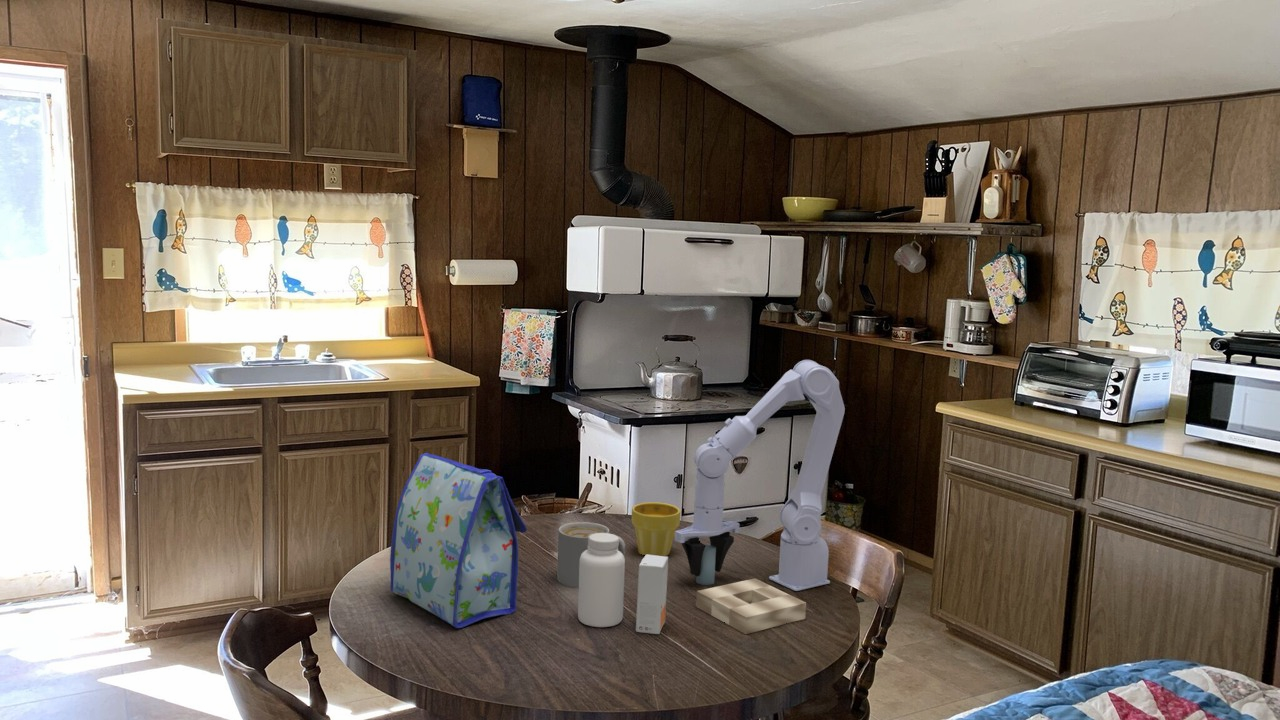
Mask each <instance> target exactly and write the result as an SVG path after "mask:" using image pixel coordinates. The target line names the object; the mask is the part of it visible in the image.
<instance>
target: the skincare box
mask: <svg viewBox="0 0 1280 720" xmlns="http://www.w3.org/2000/svg"><path fill="white" fill-rule="evenodd" d="M668 569H669V556H656V555H648V554H646V555H645V556H644V557H643V558H642V559H641V562H640V563H639V565H638V575H637V576H638V579H637V599H636V600H637V601H636V602H637V603H636V616H635V617H636V618H635V619H636V621H635V632H637V633H643V634H652V635H660V633H661V631H662V628H663V626H664V625H665V622H666V613H667V612H666V611H667V609H666V608H667V590H668V589H667V587H668V571H669V570H668Z"/></svg>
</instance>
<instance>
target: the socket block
mask: <svg viewBox="0 0 1280 720" xmlns="http://www.w3.org/2000/svg"><path fill="white" fill-rule="evenodd" d="M695 598H696V601H695V602H696V603H695V607H696V608H698V609H699V610H701V611H702V612H705V613H706V614H708V615H709V616H712V617H714V618H716V619H718V621H721V622H722V623H724V622H725V623H724V624H726V625H728V626H730V627H732V628H733V629H735V630H737V631H738V632H741V633H742V634H745V635H748V634H752V633H756V632H759V631H763V630H767V629H771V628H774V627H780V626H782V625H787V624H790V623H794V622H797V621H798V622H799V621H802V620H805V619H806V616H807V615H806V611H807V602H806V601H803V600H801V599H799V598H797V597H795V596H793V595H791V594H788V593H786V592H785V591H782V590H780V589H778V588H776V587H774V586H772V585H770V584H768V583H765V582H763V581H762V580H759V579H757V578H755V577H754V578H749V579H745V580H741V581H737V582H732V583H728V584H723V585H718V586H714V587H709V588H704V589H701V590H696V597H695ZM786 623H787V624H786Z"/></svg>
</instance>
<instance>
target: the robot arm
mask: <svg viewBox="0 0 1280 720" xmlns="http://www.w3.org/2000/svg"><path fill="white" fill-rule="evenodd" d="M841 393H842V392H841V390H840V381H839V379H837V376H835V374H834V373H833V372H832V371H831V369H829V368H828V367H827V366H823V365H821V364H819V363H817V361H814V360H811V359H803V360H801V361H798V362H797V363H796V364H795V365H794V367H793V369H789V370H788V371H786V372H785V373H784V374H783V375H782V376H781V378H780V379H779V380H778V381H777V382H776V383H775V384H774V385H773V386H772V387H771V388H770V389H769V391H767V392H766V393H765V394H764V395H763V396H762V398H760V400H759V401H757V403H756V404H754V406H753V407H752V408H751V409H750V410H749V411H748V412H747V414H746V415H735V416H734V417H733V418H732V419H731V418H730V417H729V418H727V419H726V420H725V421H724V423H725V426H723V428H721V429H720V430H719V431H718V432H717V433H716V434H715V435H714V436H713V437H712V436H710V437H709V438H707V443H703V444H701V445H700V446H698V448H697V449H696V451H695V454H694V455H693V461H694V463H695V465H696V467H697V468H696V473H695V484H694V501H693V502H694V503H693V508H694V509H693V521H692V523H691V525H690V526H687V527H685V528H684V527H683V528H682V529H678V530H676V531H675V534H674V541H675V542H677V543H678V544H679V543H680V544H681V545H682V547H683V549H684V551H685V554H686V558H687V562H688V565H689V572H690V574H691V575H693V576H695V577H696V576H700V572H701V560H702V555H703V552H704V549H705V546H706V545H707V544H704V543H702V542H701V540H700V539H704V538H705V539H706V538H709V542H710V545H712V546H715V547H716V558H715V572H718V573H720V572H721V571H722V567H723V564H724V561H725V558H726V556H727V554H728V551H729V550H730V548H731V546H732V545H733V544H734V541H735V537H734V536H733V535H731V534H732V533H733V534H739V533H740V523H739V522H736V521H734V520H730V521H723V520H724V504H725V503H724V501H725V485H726V484H725V474H726V473H727V471H728V470H729V467H730V462H731V461H732V460H734V459H735V458H736V457H737V456H738V455H739V454H740V453H742V451H744V450H745V449H746V448H747V447H748V446H749V445H750V444H751V443H752V442H753V441H754V440H755V439H756V438H757V430H758V428H759V427H760V426H761V425H762V424H764V423H765V422H766V421H768V419H769V418H771V417H772V416H773V415H774V414H775V413H777V411H779V410H780V409H781V408H782V407H784V405H786V404H787V403H789V402H794V401H804V400H806V398H805V396H806V397H807V399H808V401H809V402H810V403H811V405H812V407H813V408H814V410H815V411H816V414H815V417H814V420H813V425H812V428H811V431H810V434H809V438H808V441H807V446H806V448H805V453H804V455H803V456H804V457H803V458H802V459H803V460H802V464H801V467H800V470H799V473H798V478H797V481H796V485H795V487H794V488H793V490H792V491H791V492H790V493H789V496H788V500H787V501H785V504H784V505H782V507H781V509H780V511H779V520H780V523H781V525H782V526H783V527H784V528H783V530H782V532H781V534H780V544H779V545H780V546H779V547H780V548H779V561H778V563H779V565H778V574H774V575H770V576H769V577H768V578H769V580H770V581H772V582H775V583H776V584H779V585H781V586H784V587H785V588H788V589H790V590H792V591H795V592H798V591H803V590H807V589H811V588H815V587H819V586H823V585H824V586H825V585H828V584H831V581H830V580H829V579H828V571H829V569H828V568H829V555H830V552H829V550H830V549H829V546H828V544H827V542H826V540H825V539H824V538H823V537H821V536H820V535H821V533H822V529H823V528H822V521H821V520H822V519H821V516H822V512H823V506H822V493H823V490H824V486H825V482H826V479H827V476H828V473H829V469H830V465H831V461H832V457H833V454H834V451H835V447H836V445H837V442H838V441H837V440H838V437H839V434H840V430H841V426H842V423H843V420H844V415H845V412H846V411H845V410H846V408H845V404H844V400H843V397H842V394H841ZM804 395H805V396H804Z"/></svg>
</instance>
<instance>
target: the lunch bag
mask: <svg viewBox="0 0 1280 720" xmlns="http://www.w3.org/2000/svg"><path fill="white" fill-rule="evenodd" d="M527 528H528V527H527V525H526V523H525V522H524V519H523V518H522V517H521V515H520V514H519V512H518V511H517V508H516V506H515V505H514V503H513V500H512V498H511V495H510V493H509V491H508V488H507V486H506V483H505V480H504V478H503V476H499V475H496V474H495V473H493V472H492V470H490V469H485V468H484V469H483V468H477V467H474V466H473V465H472V466H471V465H468V464H464V463H461V462H458V461H456V460H454V459H453V460H452V459H449V458H445V457H442V456H438V455H436V454H432V453H431V454H430V453H429V452H424V453H422V454H420V456H419V458H418V459H417V461H416V462H415V465H414V467H413V469H412V471H411V473H410V475H409V477H408V478H407V480H406V482H405V484H404V486H403V489H402V492H401V495H400V497H399V500H398V503H397V508H396V511H395V516H394V523H393V529H392V534H391V535H392V536H391V543H390V553H389V556H390V557H389V558H390V559H389V560H390V561H389V562H390V567H389V568H390V590H391V592H393V593H394V594H396V595H398V596H399V597H403V598H404V599H408V600H409V601H410V602H411V603H413V604H415V605H417V606H419V607H420V608H422V609H424V610H425V611H428V612H429V613H431V614H433V615H435V616H436V617H438V618H440V619H441V620H443V621H444V622H446V623H448V624H449V625H451V626H452V627H454V628H455V629H462V628H464V627H466V626H469V625H472V624H475V623H476V622H478V621H481V620H483V619H487V618H492V617H497V616H502V615H505V616H506V614H507V615H510V614H513V613H515V611H516V610H517V598H518V579H519V578H518V575H519V543H518V537H517V533H526V532H527V530H528V529H527Z"/></svg>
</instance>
